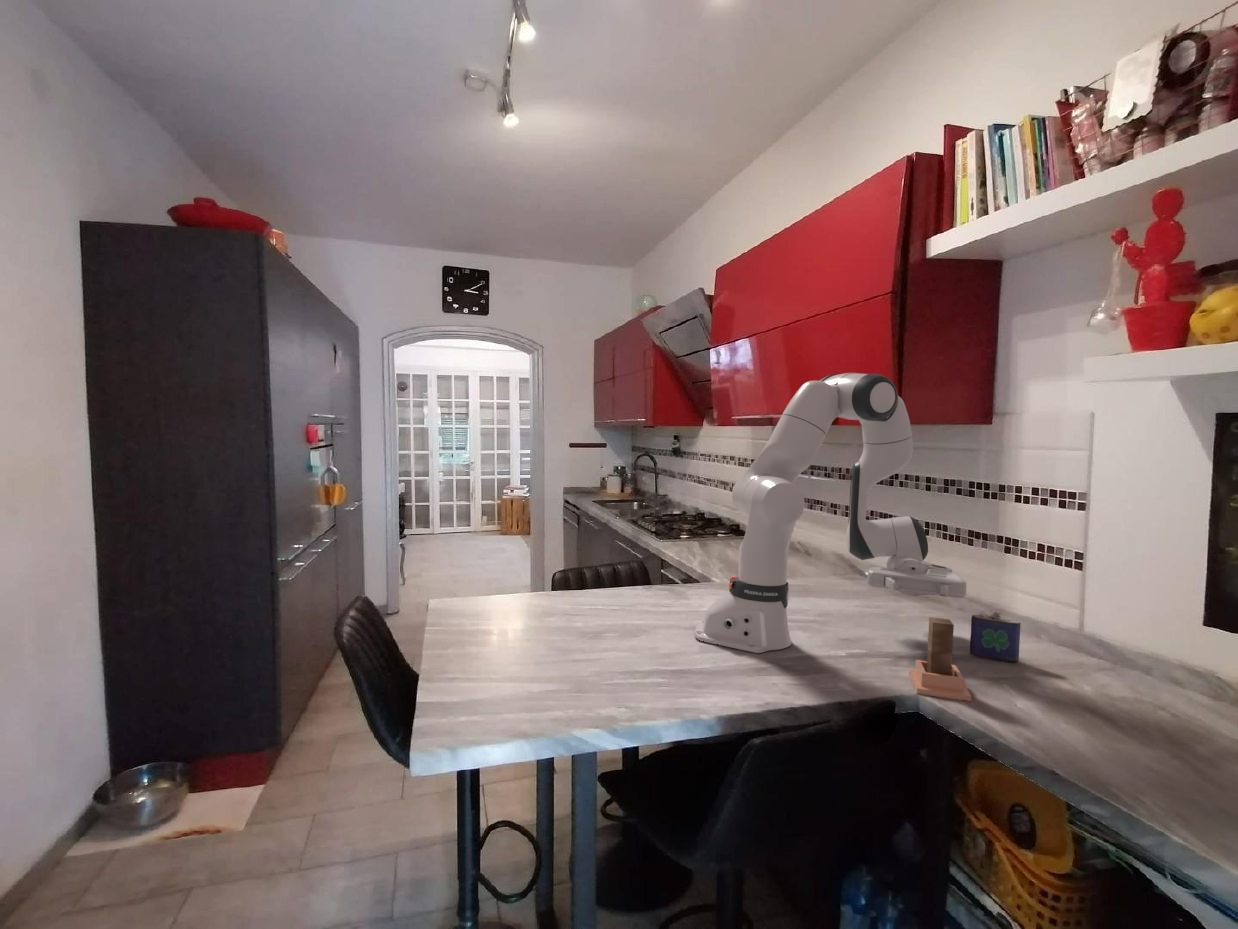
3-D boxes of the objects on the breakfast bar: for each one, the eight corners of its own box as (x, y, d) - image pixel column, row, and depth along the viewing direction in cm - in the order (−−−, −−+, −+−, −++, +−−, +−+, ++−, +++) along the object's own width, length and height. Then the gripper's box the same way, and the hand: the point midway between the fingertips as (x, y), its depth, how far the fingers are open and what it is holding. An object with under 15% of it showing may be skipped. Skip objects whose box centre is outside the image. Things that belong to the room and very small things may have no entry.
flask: (1017, 660, 125) (1020, 612, 124) (1020, 665, 122) (1022, 616, 122) (968, 652, 129) (971, 606, 129) (970, 656, 127) (972, 609, 126)
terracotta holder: (916, 693, 107) (917, 675, 107) (908, 673, 116) (909, 656, 116) (971, 701, 104) (972, 683, 104) (958, 680, 113) (959, 663, 113)
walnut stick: (929, 683, 109) (933, 622, 108) (926, 676, 112) (929, 617, 112) (950, 686, 108) (953, 624, 107) (946, 679, 111) (949, 619, 110)
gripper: (864, 558, 140) (869, 569, 127) (958, 569, 133) (973, 581, 120) (862, 583, 140) (867, 596, 127) (956, 595, 134) (971, 610, 120)
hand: (919, 589), depth 124 cm, fingers open, 8 cm apart
